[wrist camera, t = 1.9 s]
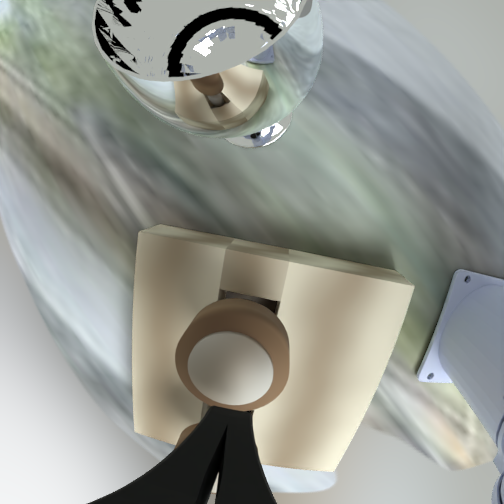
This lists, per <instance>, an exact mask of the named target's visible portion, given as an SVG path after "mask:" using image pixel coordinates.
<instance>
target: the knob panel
mask: <svg viewBox="0 0 504 504" xmlns="http://www.w3.org/2000/svg"><path fill="white" fill-rule="evenodd" d="M414 288H415V286H414V285H413V284H411V283H410V282H409V281H408V280H407V279H406V278H404V277H403V276H402V275H401V274H400V273H398V272H397V271H395V270H390V269H386V268H381V267H376V266H371V265H366V264H361V263H356V262H352V261H347V260H342V259H337V258H332V257H327V256H322V255H317V254H312V253H307V252H302V251H297V250H292V249H287V248H282V247H277V246H272V245H267V244H262V243H257V242H251V241H246V240H241V239H236V238H231V237H226V236H221V235H215V234H210V233H205V232H200V231H195V230H189V229H184V228H179V227H174V226H168V225H163V224H159V225H156V226H153V227H150V228H147V229H144V230H141V231H139V232H138V240H137V251H136V263H135V277H134V294H133V319H132V389H133V412H134V429H135V432H137V433H139V434H142V435H145V436H148V437H151V438H154V439H157V440H161V441H164V442H167V443H170V444H174V445H176V444H177V441H178V439H179V437H180V434H181V433H182V431H183V430H184V429H185V428H187V427H188V426H190V425H193V424H196V423H199V422H200V421H201V420H202V418H203V417H204V416H205V414H206V413H207V411H208V409H209V408H210V407H211V406H210V405H208V404H206V403H204V402H202V401H201V400H199V399H198V398H197V397H195V396H194V395H193V394H192V393H191V392H190V391H189V390H188V389H187V388H186V387H185V385H184V384H183V382H182V381H181V379H180V377H179V375H178V372H177V369H176V364H175V352H176V347H177V344H178V342H179V340H180V338H181V337H182V335H183V334H184V332H185V331H186V329H187V328H188V326H189V325H190V323H191V322H192V320H193V319H194V317H195V316H196V315H197V314H198V313H199V312H200V311H201V310H202V309H203V308H204V307H206V306H207V305H209V304H211V303H213V302H216V301H219V300H223V299H225V298H226V292H227V291H231V292H235V293H240V294H245V295H250V296H255V297H260V298H265V299H270V300H275V301H277V305H276V310H275V315H276V316H277V317H278V318H279V319H280V321H281V322H282V324H283V325H284V327H285V329H286V331H287V334H288V338H289V345H290V371H289V378H288V381H287V384H286V386H285V388H284V389H283V391H282V392H281V393H280V395H279V396H278V397H277V398H276V399H275V400H273V401H272V402H270V403H269V404H267V405H265V406H263V407H260V408H258V409H254V410H251V414H252V416H253V431H254V437H255V443H256V445H257V448H258V455H259V458H260V462H261V464H263V465H270V466H277V467H285V468H293V469H303V470H314V471H328V472H334V470H335V468H336V467H337V465H338V463H339V462H340V459H341V458H342V456H343V454H344V453H345V451H346V449H347V447H348V445H349V444H350V442H351V440H352V438H353V436H354V434H355V432H356V431H357V429H358V427H359V425H360V423H361V421H362V419H363V417H364V415H365V413H366V411H367V409H368V406H369V404H370V402H371V400H372V398H373V396H374V394H375V391H376V389H377V387H378V385H379V382H380V380H381V378H382V375H383V373H384V371H385V368H386V366H387V364H388V361H389V359H390V356H391V354H392V351H393V348H394V346H395V343H396V341H397V338H398V335H399V332H400V330H401V327H402V324H403V321H404V318H405V315H406V313H407V310H408V306H409V303H410V300H411V297H412V294H413V291H414Z"/></svg>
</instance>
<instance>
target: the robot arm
mask: <svg viewBox="0 0 504 504" xmlns="http://www.w3.org/2000/svg"><path fill="white" fill-rule="evenodd" d="M466 276H468V279H467V281H464V280H465V277H466ZM430 373H431V375H430V376H428V375H429V374H430ZM417 378H418V380H419V381H421V382H439V383H454V385H455V386H456V387H457V389H458V390H459V392H460V393H461V394H462V396H463V397H464V399H465V400H466V401H467V403H468V404H469V406H470V407H471V409H472V410H473V411H474V413H475V414H476V416H477V417H478V419H479V420H480V422H481V423H482V425H483V426H484V428H485V429H486V431H487V432H488V434H489V435H490V437H491V438H492V440H493V441H494V443H495V444H496V446H497V448H498V453H497V455H496V457H495V458H494V460H493V462H494V464H495V465H496V467H497V469H498V471H499V472H500V476H499V477H498V479H497V481H496V483H495V485H494V488H493V492H492V504H504V279H500V278H496V277H492V276H488V275H484V274H480V273H476V272H472V271H468V270H463V269H458V270H457V271H456V272H455V273H454V275H453V279H452V282H451V285H450V288H449V292H448V295H447V298H446V301H445V304H444V307H443V310H442V312H441V315H440V318H439V321H438V324H437V326H436V329H435V332H434V334H433V337H432V339H431V342H430V344H429V347H428V349H427V352H426V354H425V356H424V359H423V361H422V363H421V366H420V368H419V370H418V372H417ZM218 473H219V475H218ZM217 475H218V483H217V491H216V499H215V504H277V503H276V501H275V499H274V497H273V494H272V492H271V490H270V487H269V485H268V482H267V480H266V477H265V474H264V471H263V468H262V465H261V462H260V458H259V455H258V451H257V447H256V443H255V437H254V431H253V416H252V414H251V413H249V412H243V411H238V410H233V409H228V408H223V407H219V406H214V405H213V406H211V407H210V408H209V409H208V411H207V413H206V414H205V416H204V417H203V418H202V420H201V421H200V422H199V424H198V425H197V426H196V427H195V429H194V430H193V431H192V432H191V433H190V434H189V435H188V436H187V437H186V438H185V440H184V441H183V442H182V443H181V444H180V445H179V446H178V447H177V448H176V449H174V450H173V451H172V452H171V453H170V454H169V455H168V456H167V457H166V458H164V459H163V460H162V461H161V462H160V463H158V464H157V465H156V466H155V467H153V468H152V469H151V470H149V471H148V472H146V473H145V474H144V475H142V476H141V477H139V478H137V479H136V480H134V481H133V482H131V483H129V484H128V485H126V486H124V487H123V488H121V489H119V490H117V491H115V492H113V493H111V494H109V495H106V496H104V497H102V498H100V499H97V500H95V501H93V502H90V503H88V504H207V502H208V499H209V497H210V494H211V492H212V489H213V486H214V483H215V481H216V478H217Z"/></svg>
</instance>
